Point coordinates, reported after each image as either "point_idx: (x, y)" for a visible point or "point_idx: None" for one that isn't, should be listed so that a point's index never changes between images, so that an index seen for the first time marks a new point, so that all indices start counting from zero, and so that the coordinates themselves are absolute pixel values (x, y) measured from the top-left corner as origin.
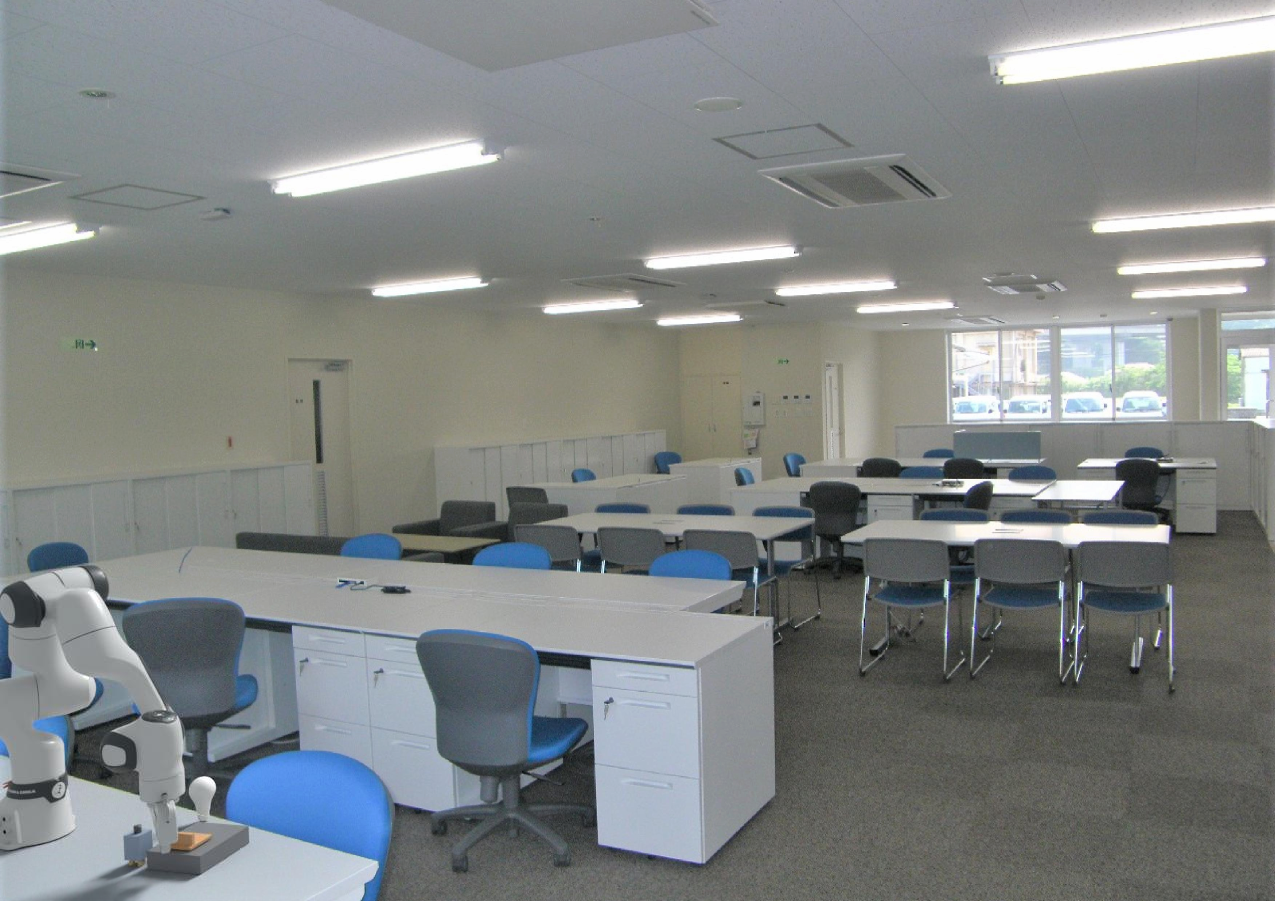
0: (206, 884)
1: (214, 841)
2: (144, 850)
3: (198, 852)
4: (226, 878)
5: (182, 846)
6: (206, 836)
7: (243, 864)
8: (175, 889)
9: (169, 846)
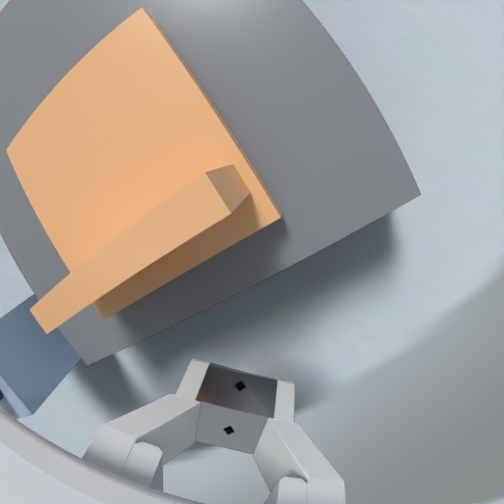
0: (490, 209)
1: (222, 16)
2: (53, 340)
3: (345, 172)
4: (501, 125)
5: (199, 252)
6: (142, 47)
7: (418, 2)
8: (425, 315)
9: (293, 409)
